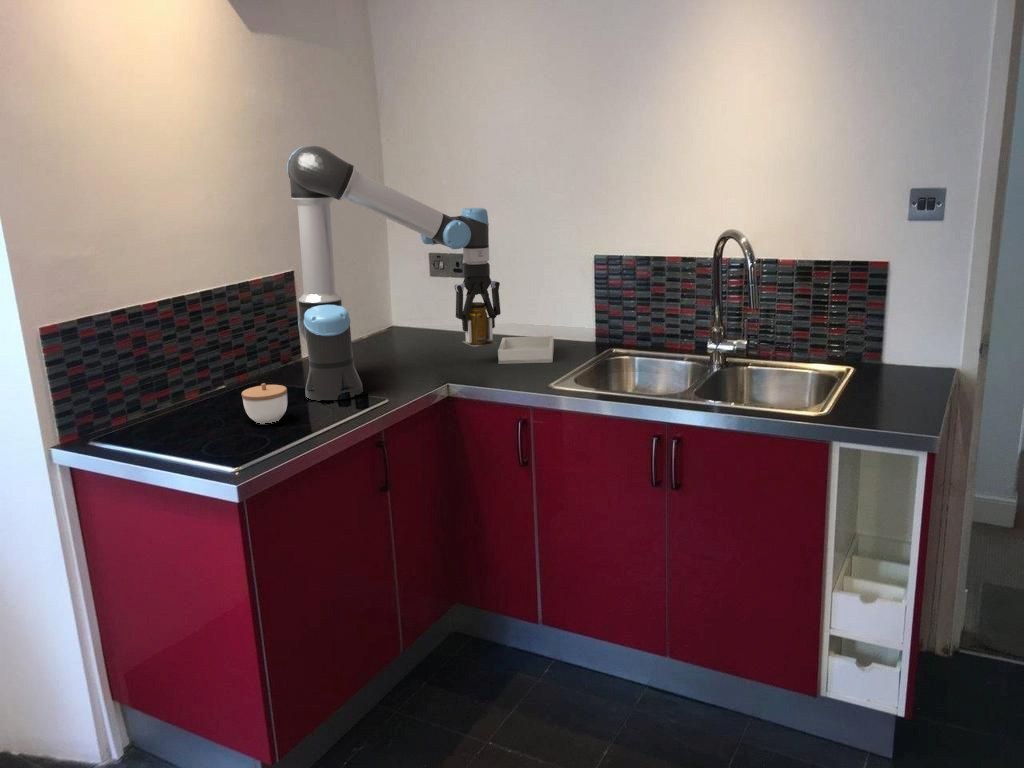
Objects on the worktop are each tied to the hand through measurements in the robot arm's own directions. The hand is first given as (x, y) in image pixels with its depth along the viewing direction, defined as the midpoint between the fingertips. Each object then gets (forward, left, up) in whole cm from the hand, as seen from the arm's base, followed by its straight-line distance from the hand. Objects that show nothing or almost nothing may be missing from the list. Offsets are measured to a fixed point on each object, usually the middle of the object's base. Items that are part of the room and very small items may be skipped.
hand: (479, 340), depth 264 cm
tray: (+14, +8, -7) cm, 17 cm away
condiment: (0, +2, -1) cm, 2 cm away
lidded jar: (-47, -52, -7) cm, 71 cm away
